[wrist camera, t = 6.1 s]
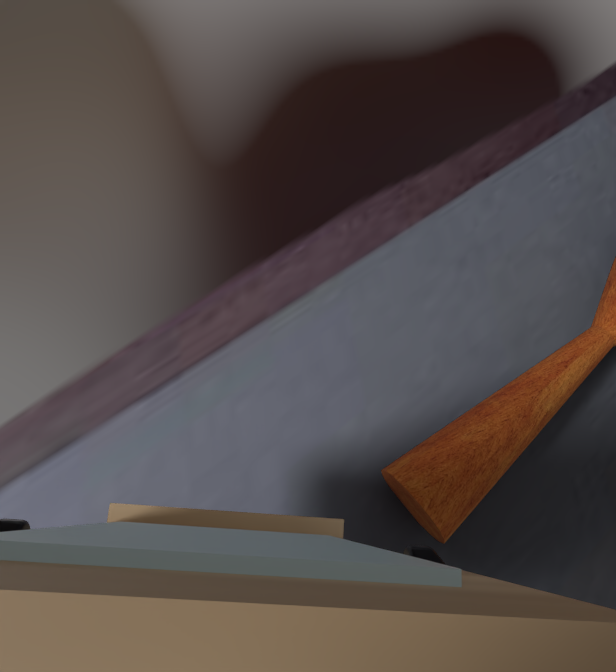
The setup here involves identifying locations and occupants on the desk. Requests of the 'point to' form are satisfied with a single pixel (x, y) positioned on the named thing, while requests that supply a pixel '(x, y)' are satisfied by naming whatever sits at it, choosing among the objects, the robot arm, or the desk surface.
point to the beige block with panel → (270, 602)
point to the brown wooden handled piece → (496, 430)
